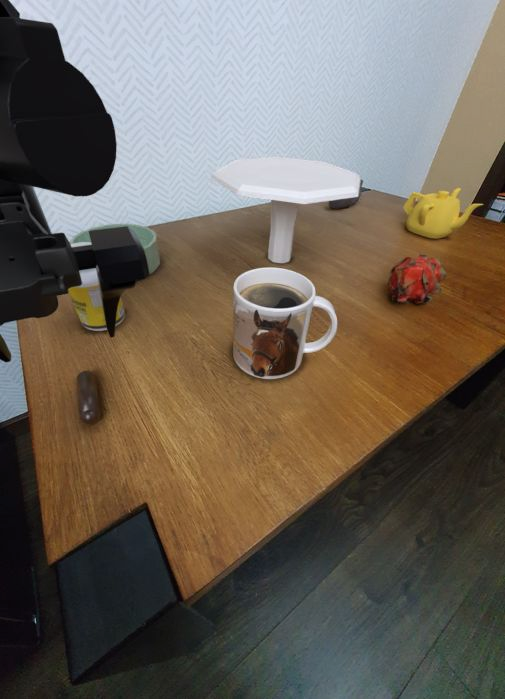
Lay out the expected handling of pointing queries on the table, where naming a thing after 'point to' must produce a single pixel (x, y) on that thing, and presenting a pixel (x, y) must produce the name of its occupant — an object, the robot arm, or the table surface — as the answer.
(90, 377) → the stick
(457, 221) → the teapot
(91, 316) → the pill bottle
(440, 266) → the dragon fruit
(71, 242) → the bowl
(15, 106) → the robot arm
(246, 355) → the mug
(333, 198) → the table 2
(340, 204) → the perforated stone tool
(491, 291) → the table surface
